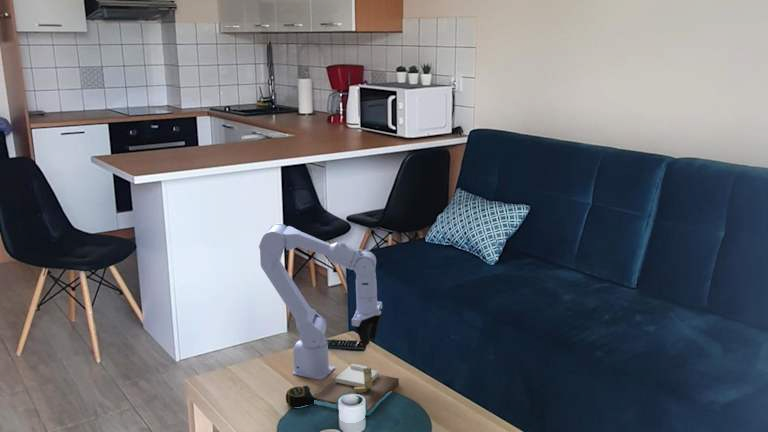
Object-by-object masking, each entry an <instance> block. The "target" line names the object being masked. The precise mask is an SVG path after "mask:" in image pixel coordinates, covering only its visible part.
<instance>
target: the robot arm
mask: <svg viewBox="0 0 768 432" xmlns="http://www.w3.org/2000/svg"><path fill="white" fill-rule="evenodd" d="M346 244H347V243H346V242H344V241H341V242H337V241H336V242H334V243H328V242H327V241H324V240H321V239H319V238H318V237H317V238H316V237H315V236H313V235H310V234H308V233H305V232H302V231H301V230H299V229H296V228H295V227H293V226H291V225H288V226H287V225H285V224H283V223H275V224H273V225H271V226H270V228H269V229H268V231H266V233H265V234H263V236H262V238H261V241H260V243H259V245H258V248H259V254H260V255H259V257H260V259H259V260H260V262H259V263H260V267H261V269H262V270H263V272H264V273H265V275H266V277H267V278H268V280H269V281H270V283H271V285H272V286H273V287H274V289H275V290H276V293H277V294H278V295H279V296H280V298H281V299H282V301H283V303H284V304H285V306H286V307H287V308H288V311H289V312H290V314H291V315H292V317H293V318H294V320H295V326H296V327H295V328H296V330H297V332H298V333H299V340H298V341H296V343H295V344H294V345H293V352H292V353H293V367H294V368H293V371H292V374H293V375H296V376H301V377H306V378H310V379H316V380H323V379H325V377H327V376H328V375H329V374H330V373H331V372H333V371H334V370H335V369H336V367H335V366H332V365H330V363H329V361H330V360H329V345H328V339H327V337H326V335H325V333H326V331H327V329H328V323H327V320H326V318H324V317H323V316H322V315H320V314H319V313H318V312H317V311H316V309H315V308H312V307H311V306H310V305H309V303H308V302H307V300H306V299H305V297H304V296H303V294H302V292H301V291H300V289H299V288H298V287H297V284H296V283H295V281H294V280H293V278H292V277H291V275H290V274H289V272H288V271H287V270H286V268H285V266H284V265H283V263H282V262H281V260H282V257H283V253H284V249H286V251H290V250H295V249H297V248H302V249H304V250H308V251H310V252H314V253H317V254H320V255H323V256H326V257H327V259H328V261H329V262H330V263H332V264H335V265H338V266H340V267H343V268H345V269H348V270H350V271H351V270H353V271H354V273H355V294H356V295H355V296H356V298H355V299H356V310H355V313H354V315H353V317H352V318H351V326H352V327H353V326H354V328H355V330H356V332H357V333H358V336H359V340H360V343H361V345H366V346H368V345H369V344H370V339H371V340H375V339H377V333H378V329H379V325H380V322H381V320H382V318H383V313H382V310H383V302H382V301H378V288H377V287H378V286H377V284H378V283H377V282H378V281H377V274H376V267H377V266H376V265H377V258H376V255H375V254H374V253H373V252H371V251H370V250H368V249H361V248H358V249H357V248H353V247H352V246H349V245H346Z"/></svg>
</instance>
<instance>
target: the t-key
mask: <svg viewBox="0 0 768 432" xmlns="http://www.w3.org/2000/svg"><path fill="white" fill-rule="evenodd" d="M371 370H372V368H370V367H368V369H363V371H364V385H365V387H354V388H355V392H371V388H373V385H372V373H371Z"/></svg>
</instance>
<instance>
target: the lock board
mask: <svg viewBox="0 0 768 432" xmlns="http://www.w3.org/2000/svg"><path fill="white" fill-rule="evenodd" d="M372 385H373V388H371V392H355V388H354V387H356V386H352V385H347V384H342V383H337V382H336V380H335V378H333V380H331V382H329V383H328V384H327V385H325V386H324V387H323V388H321V390H320V391H318V393H316V394H315V395H314V396H313V398H314V400H317V401H321V402H328V403H331V404H337V402H338V398H339V397H340V396H341V395H344V394H348V393H356V394H360V395H363V396H364V397H365V399H366V405H367V412H368V411H369V410H370V409H371V408H372V407H374V406H375V404H376V403H377V402H378V401H379V400H380V399H382V397H384V396H385V394H387V393H388V392H390V391H392V393H393V392H394V390H396V389H397V388H398V387H399V386H400V379H399V378H398V377H395V376H394V377H393V376H387V375H382V374H379V376H378V377H377V378H376V379H375V380H373V381H372Z"/></svg>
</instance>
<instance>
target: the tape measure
mask: <svg viewBox="0 0 768 432" xmlns="http://www.w3.org/2000/svg"><path fill="white" fill-rule="evenodd" d="M313 397H314V396H313V394H312V393H311V388H310V386H309V385H303V386H294V387H291V388H290V389H288V390H287V391H286V394H285V402H286V405H288V406H289V407H290V408H293V409H295V408H294V407H301V406H305V405H310V404H312V405H314V404H313V403H314V398H313ZM310 406H311V405H310Z"/></svg>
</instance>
